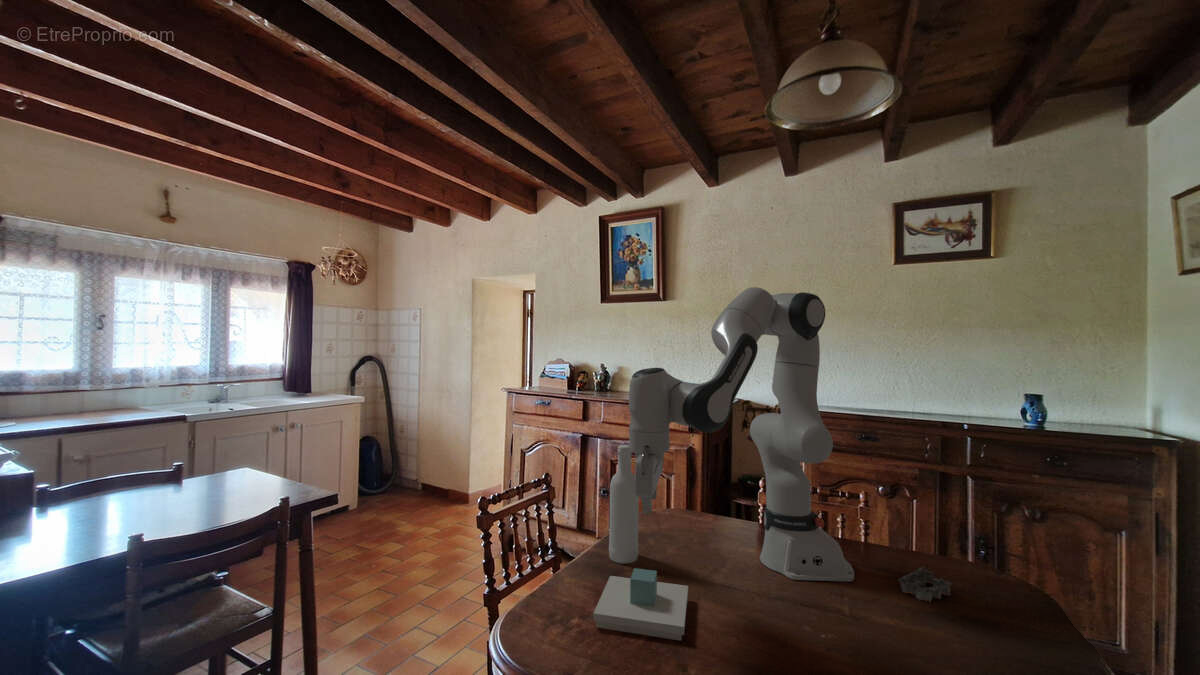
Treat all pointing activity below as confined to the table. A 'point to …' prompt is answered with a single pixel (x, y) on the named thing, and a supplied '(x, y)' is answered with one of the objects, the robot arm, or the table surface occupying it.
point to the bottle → (623, 511)
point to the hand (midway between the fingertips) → (650, 505)
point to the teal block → (643, 587)
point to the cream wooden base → (643, 610)
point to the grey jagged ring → (924, 584)
